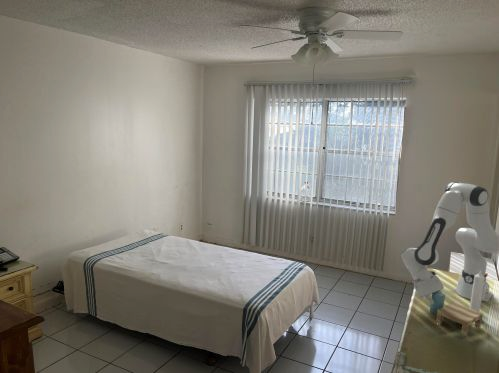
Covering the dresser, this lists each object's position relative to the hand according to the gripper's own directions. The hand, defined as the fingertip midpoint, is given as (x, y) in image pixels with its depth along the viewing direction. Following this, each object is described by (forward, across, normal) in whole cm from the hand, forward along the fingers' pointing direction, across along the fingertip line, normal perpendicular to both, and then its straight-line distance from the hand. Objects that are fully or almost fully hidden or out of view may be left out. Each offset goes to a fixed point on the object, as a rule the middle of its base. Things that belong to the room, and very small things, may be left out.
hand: (438, 301), depth 198 cm
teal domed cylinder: (+4, 0, +5) cm, 6 cm away
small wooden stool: (+13, -4, -5) cm, 15 cm away
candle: (+13, +13, -4) cm, 19 cm away
